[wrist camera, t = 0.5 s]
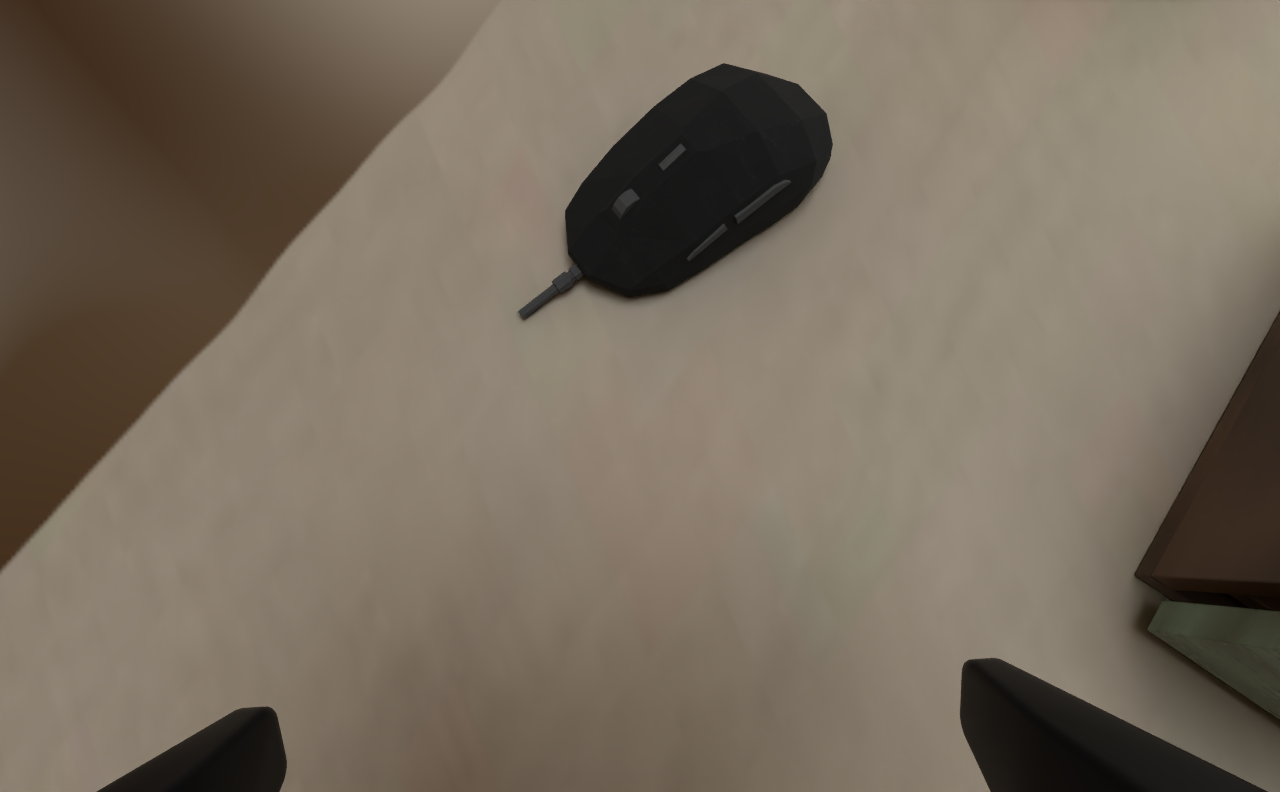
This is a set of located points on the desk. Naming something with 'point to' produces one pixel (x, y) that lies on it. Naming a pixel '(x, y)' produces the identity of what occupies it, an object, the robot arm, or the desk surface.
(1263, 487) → the cabinet
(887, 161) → the desk surface
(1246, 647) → the drawer
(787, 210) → the gaming mouse
